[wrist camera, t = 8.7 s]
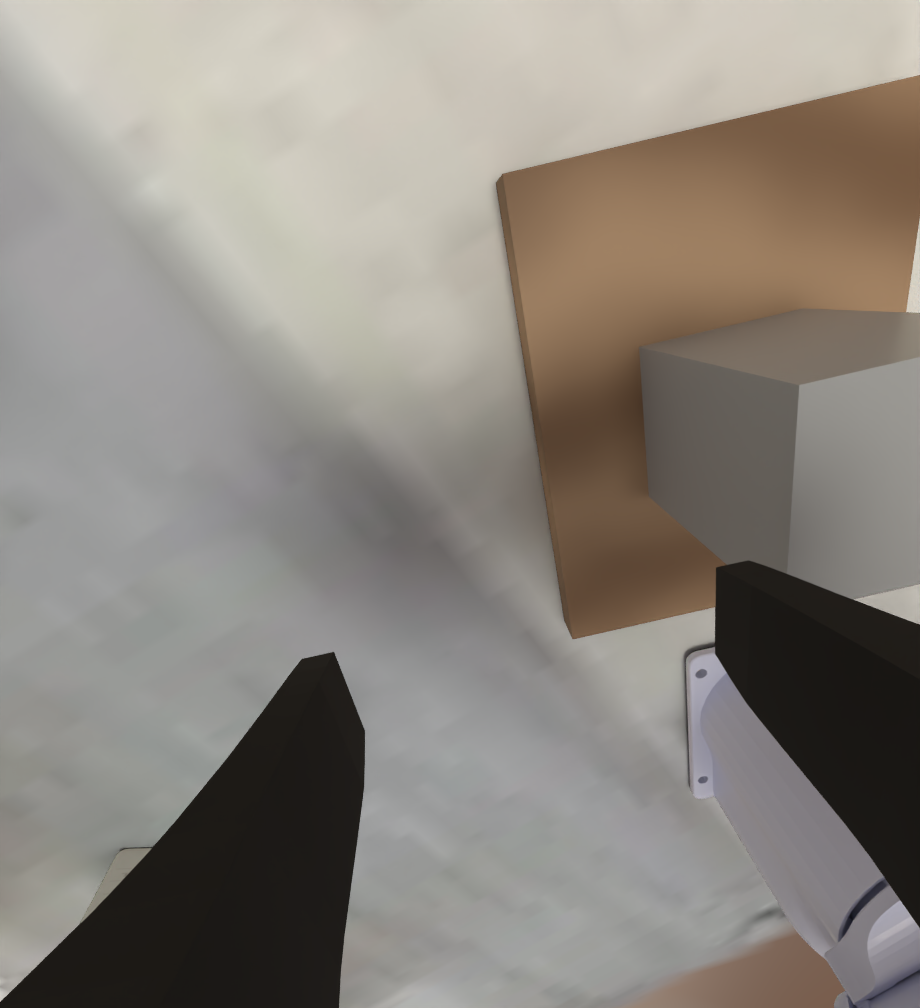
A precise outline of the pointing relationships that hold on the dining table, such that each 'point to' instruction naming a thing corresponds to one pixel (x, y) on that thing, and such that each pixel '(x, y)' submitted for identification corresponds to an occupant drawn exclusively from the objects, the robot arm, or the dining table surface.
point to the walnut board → (687, 304)
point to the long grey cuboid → (793, 444)
